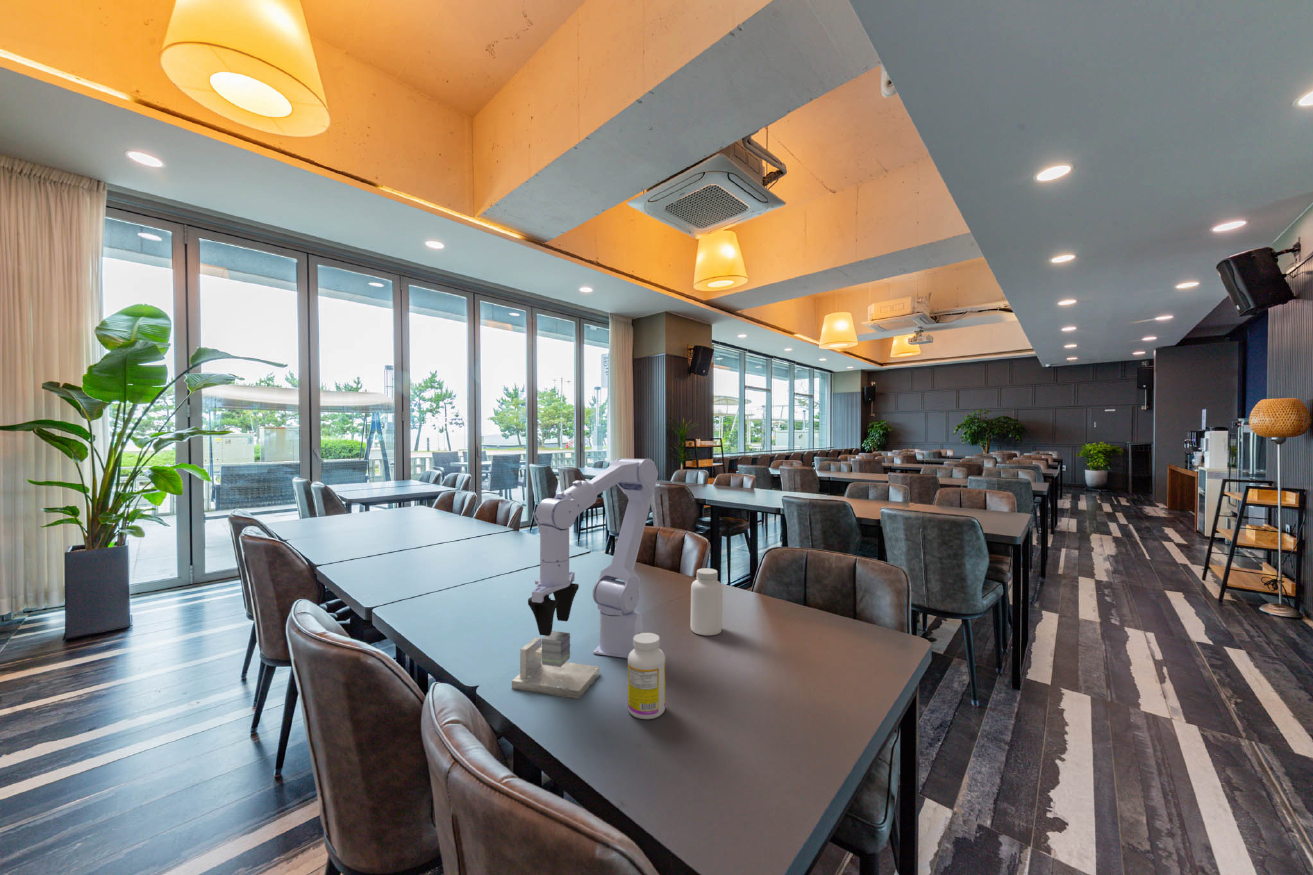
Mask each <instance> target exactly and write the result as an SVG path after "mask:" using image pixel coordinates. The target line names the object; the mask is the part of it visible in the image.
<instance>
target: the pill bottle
mask: <svg viewBox="0 0 1313 875" xmlns="http://www.w3.org/2000/svg"><path fill="white" fill-rule="evenodd" d="M718 575H719V574H718V570H717V569H714V568H708V567H707V568H706V567H705V568H703V567H702V568H699V569H697V570H696V579H695V580H694V581H692V583H691V586H690V624H689V625H690V630H691V631H692V632H693V633H695V634H698V635H700V636H716V635H719V634H720V633H721V632H722V630H723V629H722V628H723V597H724V596H723V591H724V589H723V587H724V586H723V585H722V583H721V582H720V581H719V580H718V579H719V578H718Z"/></svg>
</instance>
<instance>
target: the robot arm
mask: <svg viewBox="0 0 1313 875" xmlns="http://www.w3.org/2000/svg"><path fill="white" fill-rule="evenodd" d="M658 476H659V471H658V469H657V466H656V463H655V462H654V461H653V460H652V459H651V458H625V457H619V458H616V459H615V460H613V461H611V462H610V464H609V466H608V467H607V468H605V469H604V470H602V471H601V472H599V473H598V474H597V475H595V476H593V477H592V479H590V480H589V481H586V480H577V479H576V480H574V481H573V482H572V486H570V487H568V488H567V489H565V490H563V491H558V492H557V493H556V495H555V496H554V497H553V498H552V497H551V498H550V497H548V498H547V497H546V498H544V499H542V500H541V501H540V502H539V503H538V505H537V506H536V508H535V512H534V513H533V519H534V521H535V523H536V524H537V526H538V528H537V529H538V533H539V535H540V536H539V542H540V543H539V578H537V579H536V580H534V584H535V585H537V586H536V587H535V589H534V590H532V591H531V596H530V597H529V598H528V599H527V605H528V606H529V607H530V608H529V609H531V611H532V613H533V616H534V618H535V622H536V625H537V631H538V634H539V635H540V636H543V637H545V636H550V635H551V632H552V631H553V626H554V625H553V624H554V616H555V613H556V618H557V621H559V622H560V621H561V622H568V621H569V618H570V615H571V611H572V610H571V609H572V605H573V602H574V600H575V596H576V594H577V592H578V590H579V588H580V584H579V583H574V582H575V578H576V577H575V574H576V573H575V571H570V528H571V527H572V526H573V525H574V524H575V522H576V519H577V517H578V516H579V514H580V515H581V513H583V512H584V511H586V510H587V509H588V508H590V507H591V506H594V504H596V501H597V498H598V495H600V494H602V493H603V492H605V491H607V490H609V489H610V488H612V487H613V486H615V485H617V486H618V488H619V489H620V490H621V491H622V493H623V494H624V495H626V497H627V499H628V502H627V505H626V509H625V513H624V516H623V520H622V523H621V527H620V531H619V534H618V537H617V542H616V546H615V549H614V552H613V555H612V556H613V557H612V561H611V563H610V565H608V566H606V567H605V568H603V569H601V571H600V575H599V578H598V579H597V581H596V582H595V583H594V586H593V589H592V599H593V601H594V602H595V604H596V605H597V609H598V610H599V645H597V647H595V649H594V650H593V651H592V653H593V654H594V655H602V656H609V657H617V658H624V659H628V656H629V654H630V652H631V651H632V650H633V649H635V648H634V645H633V638H634V636H635V635H637V634H640V633H643V626H644V624H643V615H642V613H641V612H639V611H635V609H636V608H637V606H638V604H639V602H640V601H639V600H640V587H641V582H642V581H641V579H640V577H639V576H638V574H637V573H636V572H635V570H634V569H635V566H636V562H637V558H638V555H639V554H638V553H639V551H640V547H641V543H642V539H643V536H644V531H645V527H646V523H647V520H648V516H649V511H650V509H651V505H652V504H651V503H652V500H653V495H654V493H655V489H656V485H657V480H658ZM620 580H622V581H620ZM552 594H553V597H554V598H553V599H552V598H551V597H550V596H551V595H552Z"/></svg>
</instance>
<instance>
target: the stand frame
mask: <svg viewBox="0 0 1313 875" xmlns="http://www.w3.org/2000/svg"><path fill="white" fill-rule="evenodd" d="M519 653H520V654H519V656H520V657H519V658H520V659H519V660H520V662H519V663H520V665H519V667H520V668H519V674H517V675H516V676H515V677H514V678H513V679H512V680H511V689H513V690H518V691H519V690H520V691H525V692H530V693H531V692H532V693H538V694H543V695H544V694H545V695H550V696H555V697H556V696H557V697H562V698H569V699H574V700H579V699H580V698H581V697H582V696H583V695H584V694H585V692H587V690H588V689H589V688H590V686H592V684H593V683H594V682H595V681H596V680H597V678H598V677H599V676H600V674H601V671H600V668H601V667H600V666H598V665H597V666H596V665H590V664H582V663H575V662H570V661H569V662H568V661H566V662H565V663H564V664H563V665H562V666H561V667H556V666H549V665H542V661H541V658H542V637H540V636H539V637H537V636H536V637H534V638H533V639H532V640H530V641H529V642H528V643H526V645H523V647H521V648H520V650H519Z"/></svg>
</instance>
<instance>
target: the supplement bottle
mask: <svg viewBox="0 0 1313 875" xmlns="http://www.w3.org/2000/svg"><path fill="white" fill-rule="evenodd" d="M660 641H661V638H660V636H659V635H658V634H656V633H653V632H642V633H640V634H637V635H635V636H634V638H633V645H634V648H635V649H633V650H632V651H631V652H630V654H629V656H628V658H627V709H628V712H629V713H630V714H631V715H632V716H633V717H634V718H636V719H640V720H653V719H656V718H658V717H660V716H661V715H663V713H664V712H665V710H666V655H665V653H664V652H663V651H664V650H662V649H661V648H660V645H661V642H660Z"/></svg>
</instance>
